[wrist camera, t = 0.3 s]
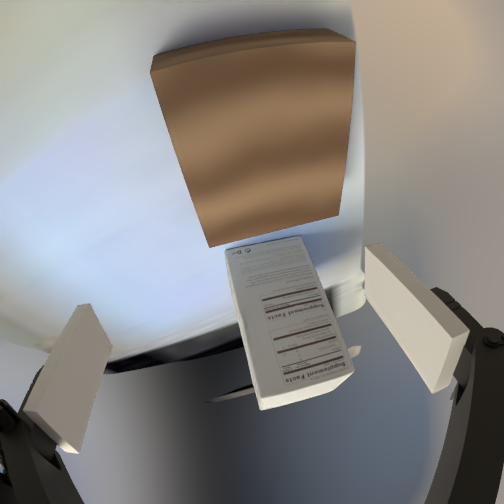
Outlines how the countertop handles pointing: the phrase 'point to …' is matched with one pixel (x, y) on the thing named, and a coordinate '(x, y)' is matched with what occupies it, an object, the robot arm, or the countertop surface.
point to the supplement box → (285, 322)
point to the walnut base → (259, 127)
